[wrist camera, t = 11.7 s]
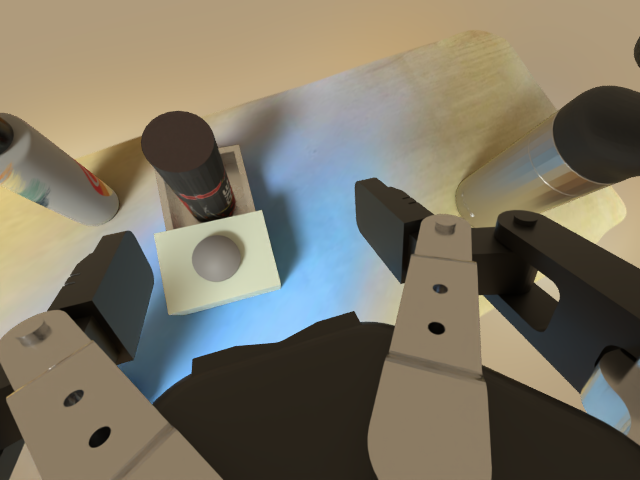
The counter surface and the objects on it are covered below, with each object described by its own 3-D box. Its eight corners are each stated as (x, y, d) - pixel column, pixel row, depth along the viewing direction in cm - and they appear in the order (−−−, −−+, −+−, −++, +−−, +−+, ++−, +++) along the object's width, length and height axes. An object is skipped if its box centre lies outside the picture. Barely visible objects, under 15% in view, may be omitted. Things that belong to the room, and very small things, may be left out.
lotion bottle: (104, 177, 41) (-52, 51, 21) (129, 209, 40) (-7, 110, 21) (62, 202, 39) (-145, 91, 20) (88, 235, 39) (-100, 155, 19)
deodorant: (236, 222, 41) (215, 171, 26) (189, 225, 40) (140, 174, 25) (234, 181, 42) (213, 110, 28) (188, 183, 41) (141, 111, 27)
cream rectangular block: (263, 224, 42) (261, 207, 35) (280, 289, 40) (281, 283, 33) (171, 245, 40) (150, 231, 33) (184, 315, 38) (165, 314, 31)
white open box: (241, 158, 44) (238, 144, 40) (258, 225, 42) (257, 217, 38) (163, 173, 42) (152, 159, 38) (177, 244, 40) (167, 237, 36)
